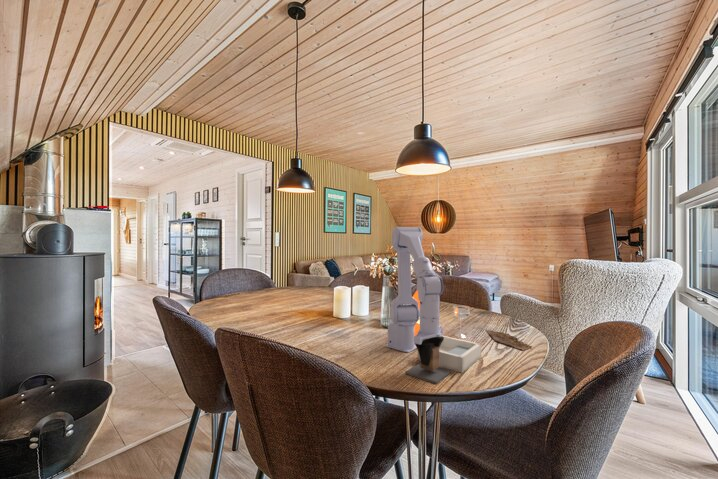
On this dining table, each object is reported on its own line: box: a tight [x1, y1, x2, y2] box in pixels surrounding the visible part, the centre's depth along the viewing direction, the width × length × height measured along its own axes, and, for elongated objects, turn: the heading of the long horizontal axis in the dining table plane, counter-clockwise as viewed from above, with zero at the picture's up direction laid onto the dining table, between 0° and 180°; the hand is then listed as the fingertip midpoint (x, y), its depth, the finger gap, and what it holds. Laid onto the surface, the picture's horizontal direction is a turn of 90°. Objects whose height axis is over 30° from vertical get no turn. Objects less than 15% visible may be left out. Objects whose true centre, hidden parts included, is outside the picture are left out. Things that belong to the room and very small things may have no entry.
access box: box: [417, 335, 482, 373], centre depth 106 cm, size 15×16×4 cm
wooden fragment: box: [485, 329, 533, 352], centre depth 127 cm, size 26×11×1 cm, turn 4°
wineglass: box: [452, 304, 471, 339], centre depth 131 cm, size 7×7×12 cm
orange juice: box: [412, 290, 420, 336], centre depth 131 cm, size 8×9×20 cm
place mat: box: [404, 362, 453, 385], centre depth 94 cm, size 10×10×1 cm
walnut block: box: [420, 346, 440, 371], centre depth 94 cm, size 4×4×6 cm
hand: (428, 362), depth 94 cm, fingers closed on walnut block, 4 cm apart
